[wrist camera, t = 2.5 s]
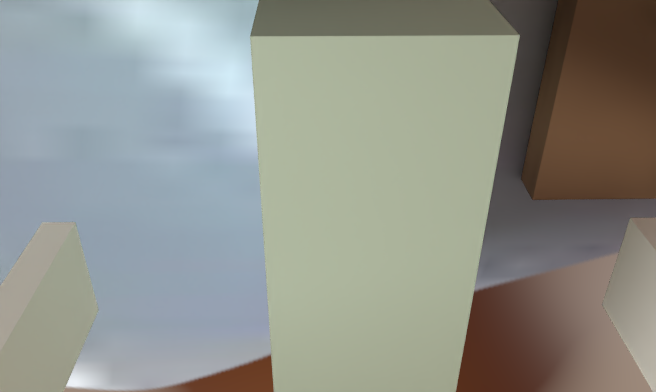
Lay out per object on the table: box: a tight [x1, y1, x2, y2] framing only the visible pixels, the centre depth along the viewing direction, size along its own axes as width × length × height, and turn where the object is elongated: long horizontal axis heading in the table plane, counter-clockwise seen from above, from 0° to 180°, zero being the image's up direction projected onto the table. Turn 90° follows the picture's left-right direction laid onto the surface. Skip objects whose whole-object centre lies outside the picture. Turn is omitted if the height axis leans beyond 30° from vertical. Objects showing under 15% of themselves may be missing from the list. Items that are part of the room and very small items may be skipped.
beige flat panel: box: [250, 0, 520, 392], centre depth 16 cm, size 14×4×14 cm, turn 0°
